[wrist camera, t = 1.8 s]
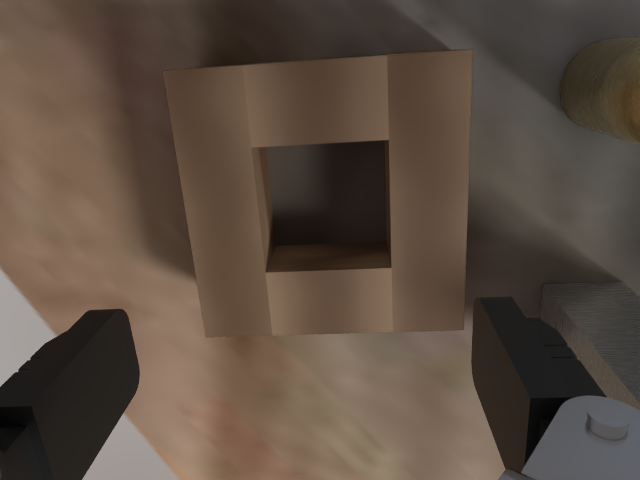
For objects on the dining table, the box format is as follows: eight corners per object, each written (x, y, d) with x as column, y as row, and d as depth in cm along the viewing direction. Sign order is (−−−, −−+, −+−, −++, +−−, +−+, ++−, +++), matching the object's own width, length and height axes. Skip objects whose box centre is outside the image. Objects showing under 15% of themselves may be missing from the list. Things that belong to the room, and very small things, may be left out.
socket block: (451, 49, 24) (473, 49, 19) (446, 287, 28) (463, 330, 23) (195, 67, 25) (162, 71, 20) (227, 294, 29) (205, 337, 24)
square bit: (621, 281, 27) (813, 446, 16) (611, 347, 28) (781, 543, 17) (542, 284, 27) (675, 447, 16) (536, 349, 29) (655, 542, 17)
